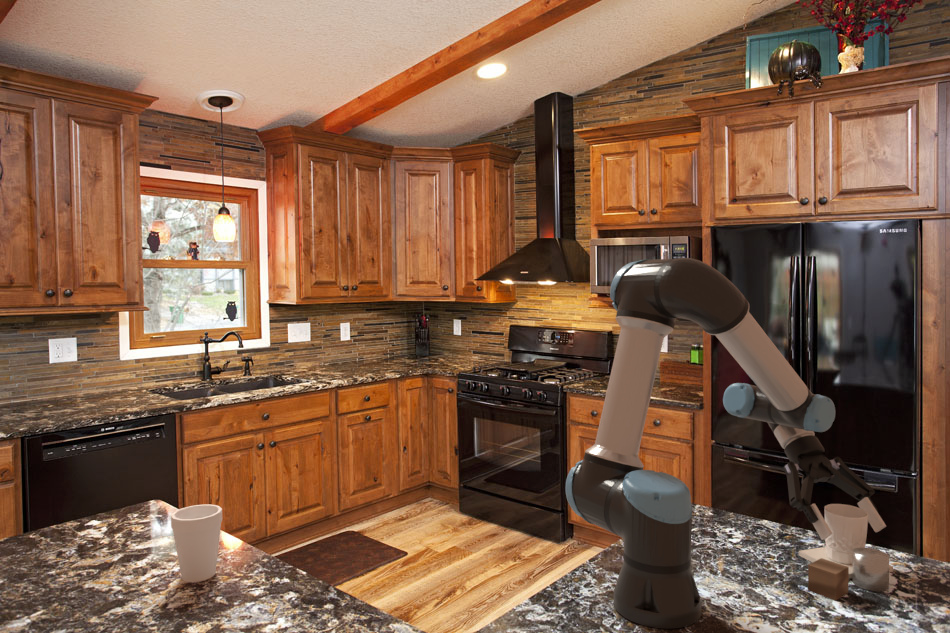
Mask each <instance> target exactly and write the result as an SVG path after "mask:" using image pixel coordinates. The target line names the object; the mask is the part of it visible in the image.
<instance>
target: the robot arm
mask: <svg viewBox="0 0 950 633" xmlns="http://www.w3.org/2000/svg"><path fill="white" fill-rule="evenodd" d="M609 293H610V294H609V295H610V300H611V301H612V306H613V308H614V310H615V311H616V315H615V321H616V323H617V324H618V326H619V327H620V331H619V336H618V339H617V345H616V347H615V348H616V349H615V353H614V358H613V362H612V366H611V371H610V375H609V381H608V384H607V390H606V393H605V398H604V401H603V406H602V411H601V416H600V419H599V425H598V428H597V432H596V438H595V440H594V441H595V442H594V444H593V445H591V446H590V447H589V448H587V449H585V451H584V455H583V459H582V460H579V461H578V462H576V463H575V464H574V465H575V466H573V467H571V468H570V470H569V471H568V474H567V477H566V479H565V495H566V500H567V502H568V504H569V507H570V508H571V510H572V511H573V512H574V514H576V515H577V516H578V517H580V518H582V519H583V520H584V521H586V522H587V523H589V524H591V525H595V526H597V527H599V528H601V529H604V530H605V531H608V532H610V533H612V534H614V535H615V536H618V537H619V538H622V539H623V562H622V565H621V568H620V571H619V574H618V577H617V580H616V584H615V586H614V589H613V606H614V609H615V610H616V611H617V612H618V614H620V616H622V617H623V618H625V619H627V620H628V621H630V622H633V623H636V624H638V625H641V626H644V627H645V626H646V627H650V628H655V629H671V630H673V629H681V628H684V627H688V626H692V625H693V624H695V623H697V622H698V621H699V619H700V618H701V616H702V599H701V596H700V593H699V590H698V586H697V583H696V581H695V577H694V573H693V572H692V524H693V523H692V522H693V518H692V517H693V505H692V497H691V491H690V489H689V487H688V486H687V484H686V483H685V482H684V481H682V480H681V479H680V478H678V477H676V476H673V475H671V474H669V473H666V472H663V471H659V472H658V471H655V470H652V469H644V467H645V465H644V463H643V462H642V461H641V459H640V457H639V454H640V453H639V452H640V449H641V448H640V446H641V442H642V439H643V435H644V429H645V424H646V420H647V415H648V412H649V407H650V401H651V397H652V393H653V387H654V384H655V379H656V376H657V375H656V374H657V370H658V365H659V360H660V356H661V351H662V349H663V348H662V347H663V342H664V338H666V337H667V336H668V335H670V334H671V333H673V332H674V329H675V325H676V320H677V319H681V320H682V319H683V320H688V321H691V322H694V323H695V324H697V325H698V326H700V328H701V329H702V330H703V332H704V333H706V334H708V335H712V336H715V337H716V338H717V339H718V341H719V342H720V343H721V344H722V345H723V347H724V348H725V349H726V350H727V351H728V353H729V354H730V356H732V357H733V359H734V360H735V361H736V362H737V363H738V364H739V366H740V367H741V369H743V371H744V372H745V373H746V375H747V376H748V377H749V378H750V379H751V380H752V381H753V383H754V384H755V385H753V384H749V383H745V382H743V383H742V382H736V383H735V382H734V383H731V384H730V385H729V386H727V388H726V389H725V391H724V393H723V397H722V403H723V407H724V409H725V410H726V411H727V413H728V414H730V416H731V415H732V416H735V417H737V418H741V419H749V420H754V421H755V420H756V421H759V422H765V423H767V424H768V427H769V428H770V429H771V431H772V433H773V434H774V437H775V438H776V440H777V441H778V443H779V445H780V447H781V448H782V449H784V453H785V455H786V457H787V459H788V460H789V462H788V463H787V464H785V465H784V466H783V472H784V473H785V475H786V480H787V483H786V484H787V490H788V491H787V492H788V499H789V500H788V501H789V505H790V507H792V509H793V508H796V510H797V511H798V512H803V514H804V515H805V517H806V518H807V520H808V522H809V524H812V525H813V527H814V529H815V530H816V533H817V534H818V536H819V538H820V540H821V541H825V539H826V538H828V537H829V536H830V535H832V534H833V533H832V532H831V530H830V528H829V527H828V525H827V523H826V521H825V517H823V514H822V513H821V511H820V510H819V508H818V506H817V505H816V503H811V501H812V495H813V488H814V484H817V483H819V482H820V483H825V482H826V483H828V484H833V485H834V486H836V487H837V488H839V489H841V490H842V491H843V492H844V493H846V494H848V495H850V496H851V497H852V498H853V499H855V500H856V501H858V502H857V503H856V504H857V506H858V508H861V509H863V510H865V511H866V512H867V513H868V514H869V515H868V524H869V525H870V527H871V528H872V529H873V531H874V532H875V533H878V532H881V531H882V530H883V529H885V528H886V527H887V525H886V523H885V521H884V520H883V518H882V516H881V515H880V514H879V510H878V508H877V506H876V505H875V503H874V502H873V500H872V499H871V496H873V495H874V494H875V493H876V491H875V489H874V488H873V487H872V486H870V485H869V484H868V483H867V482H866V481H864V480H863V479H862V478H861V477H860V476H859V475H858V474H856V472H854V471H853V470H852V469H851V468H850V467H849V466H847V465H846V464H845V462H844V461H843V460H842V458H841V457H839V456H836V457H834V458H833V459H829V458H828V457H826V454H825V448H824V446H823V445H822V443H821V441H820V440H819V438H818V437H817V436H816V435H815V434H816V433H817V432H818V433H823V432H826V431H828V430H829V429H830V428H831V427H832V425H833V422H834V421H835V419H836V407H835V406H836V405H835V404H834V402H833V400H832V399H831V398H830V397H828V396H826V395H821V394H814V393H812V392H811V390H810V389H809V388H808V386H807V384H805V382H804V381H803V380H802V378H801V377H800V376H799V374H798V373H797V372H796V371H795V369H794V368H793V367H792V365H790V362H788V360H787V359H786V358H785V356H784V355H783V353H781V351H780V350H779V349H778V347H777V346H776V345H775V343H774V342H773V341H772V340H771V338H770V337H769V336H768V335H767V334H766V332H765V331H764V329H763V328H762V327H761V326H760V324H759V323H758V321H756V319H755V318H754V317H753V315H752V313H751V312H750V303H749V301H748V300H747V298H746V297H745V295H744V294H743V293H742V292H741V291H740V289H739V288H738V287H737V286H736V285H735V284H734V283H733V282H732V281H731V280H729V279H728V278H727V277H726V276H725V275H724V274H722V273H721V272H720V271H719V270H717V269H716V268H714V267H713V266H711V265H709V264H708V263H705V262H704V261H701V260H700V259H695V258H690V257H679V258H661V259H659V258H657V259H650V258H648V259H641V260H637V261H631V262H629V263H626V264H625V265H623V266H622V267H621V268H620V269H618V271H617V272H616V274H615V275H614V277H613V279H612V281H611V284H610V290H609ZM815 432H816V433H815ZM800 475H802V476H801V481H800ZM800 482H801V483H800Z"/></svg>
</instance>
